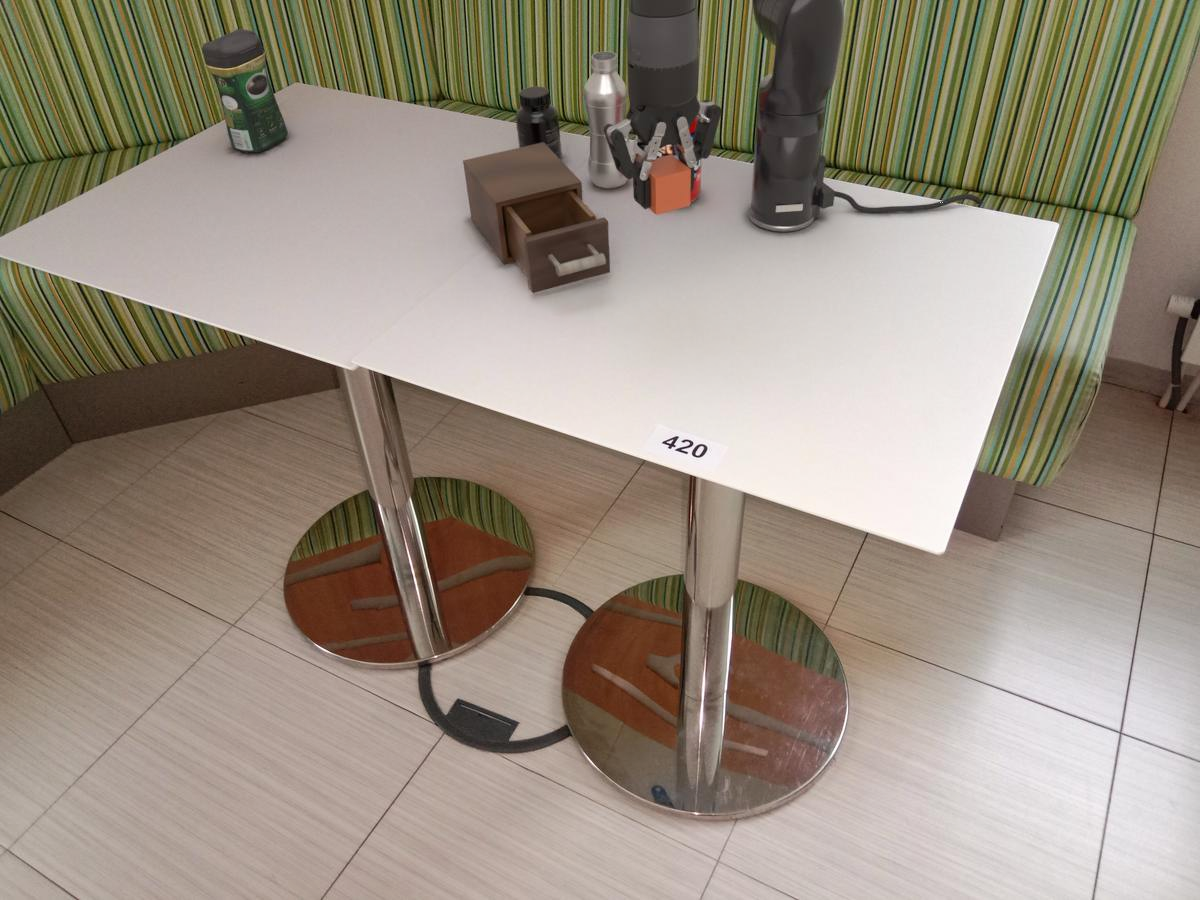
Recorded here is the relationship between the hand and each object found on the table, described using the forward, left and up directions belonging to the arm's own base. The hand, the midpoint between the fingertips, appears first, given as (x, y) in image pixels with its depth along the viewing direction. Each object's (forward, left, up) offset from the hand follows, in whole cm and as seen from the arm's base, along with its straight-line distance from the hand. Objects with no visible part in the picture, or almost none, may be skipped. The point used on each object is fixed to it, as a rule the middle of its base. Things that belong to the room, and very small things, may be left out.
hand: (663, 199), depth 113 cm
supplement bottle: (-3, -50, -17) cm, 53 cm away
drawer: (+7, -17, -16) cm, 25 cm away
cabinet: (+7, -30, -17) cm, 36 cm away
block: (0, 0, 0) cm, 0 cm away
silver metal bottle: (-10, -38, -17) cm, 43 cm away
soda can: (-17, -29, -17) cm, 38 cm away
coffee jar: (+38, -82, -17) cm, 92 cm away
